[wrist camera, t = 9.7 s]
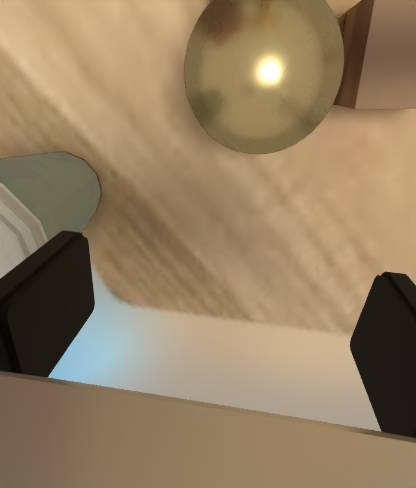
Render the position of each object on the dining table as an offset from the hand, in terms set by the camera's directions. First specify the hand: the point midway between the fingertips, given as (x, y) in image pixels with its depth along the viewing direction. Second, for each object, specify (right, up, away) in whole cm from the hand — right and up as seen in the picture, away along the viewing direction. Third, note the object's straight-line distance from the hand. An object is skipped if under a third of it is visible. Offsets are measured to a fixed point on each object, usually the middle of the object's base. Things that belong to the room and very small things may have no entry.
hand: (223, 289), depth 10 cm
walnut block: (+12, +15, +13) cm, 24 cm away
